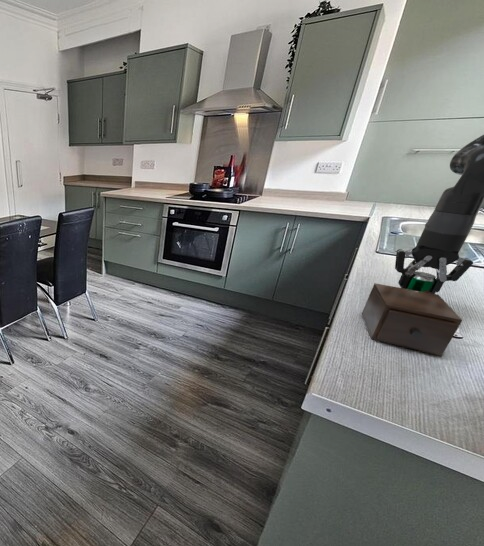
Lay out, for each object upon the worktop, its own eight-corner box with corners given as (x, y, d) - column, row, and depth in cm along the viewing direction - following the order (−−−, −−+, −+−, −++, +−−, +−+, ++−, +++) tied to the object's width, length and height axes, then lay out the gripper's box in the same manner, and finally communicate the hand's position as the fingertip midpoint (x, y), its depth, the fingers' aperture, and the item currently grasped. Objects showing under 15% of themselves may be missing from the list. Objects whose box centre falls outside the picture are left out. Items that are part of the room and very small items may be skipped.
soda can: (391, 307, 91) (408, 269, 86) (415, 312, 88) (434, 273, 84) (395, 314, 87) (413, 275, 83) (420, 319, 85) (440, 279, 80)
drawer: (443, 358, 68) (461, 327, 65) (377, 341, 74) (391, 313, 70) (422, 327, 79) (436, 300, 76) (366, 315, 85) (377, 289, 82)
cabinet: (441, 356, 70) (462, 320, 66) (371, 339, 76) (386, 304, 72) (421, 327, 81) (438, 294, 77) (361, 313, 87) (374, 283, 83)
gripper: (411, 228, 79) (384, 288, 86) (496, 237, 72) (460, 302, 78) (403, 223, 85) (379, 279, 91) (481, 230, 78) (449, 291, 84)
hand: (416, 289), depth 85 cm, fingers closed on soda can, 5 cm apart
